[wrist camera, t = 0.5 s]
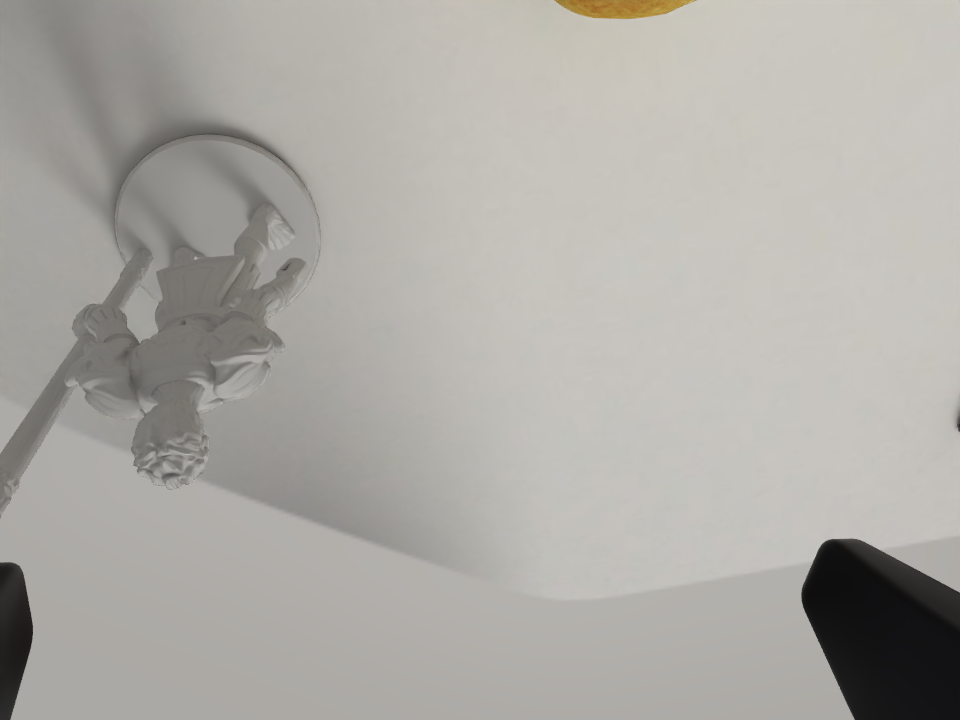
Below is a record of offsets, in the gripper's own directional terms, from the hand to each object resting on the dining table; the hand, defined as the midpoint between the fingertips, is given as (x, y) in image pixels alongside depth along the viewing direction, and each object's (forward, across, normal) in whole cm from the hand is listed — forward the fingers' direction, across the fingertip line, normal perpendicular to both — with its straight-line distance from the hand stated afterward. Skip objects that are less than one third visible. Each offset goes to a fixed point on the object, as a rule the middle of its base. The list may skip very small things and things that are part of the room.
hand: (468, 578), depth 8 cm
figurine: (+14, +4, +1) cm, 15 cm away
